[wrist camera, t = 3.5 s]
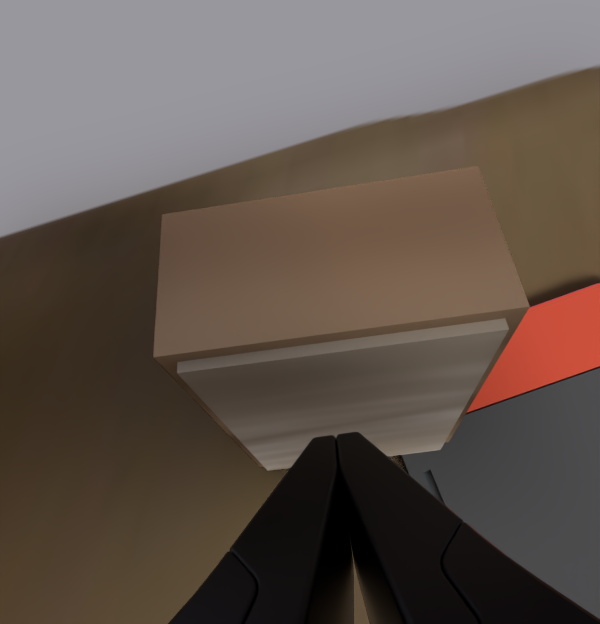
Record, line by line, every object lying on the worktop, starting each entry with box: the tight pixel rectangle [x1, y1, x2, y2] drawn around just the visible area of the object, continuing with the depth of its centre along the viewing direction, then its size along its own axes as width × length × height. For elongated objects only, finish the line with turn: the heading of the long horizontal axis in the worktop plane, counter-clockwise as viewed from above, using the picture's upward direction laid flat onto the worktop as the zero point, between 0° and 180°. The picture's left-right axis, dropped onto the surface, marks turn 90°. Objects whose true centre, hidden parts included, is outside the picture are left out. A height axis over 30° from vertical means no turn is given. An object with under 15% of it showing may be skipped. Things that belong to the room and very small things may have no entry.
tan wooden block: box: [153, 166, 530, 471], centre depth 12 cm, size 3×6×9 cm, turn 95°
